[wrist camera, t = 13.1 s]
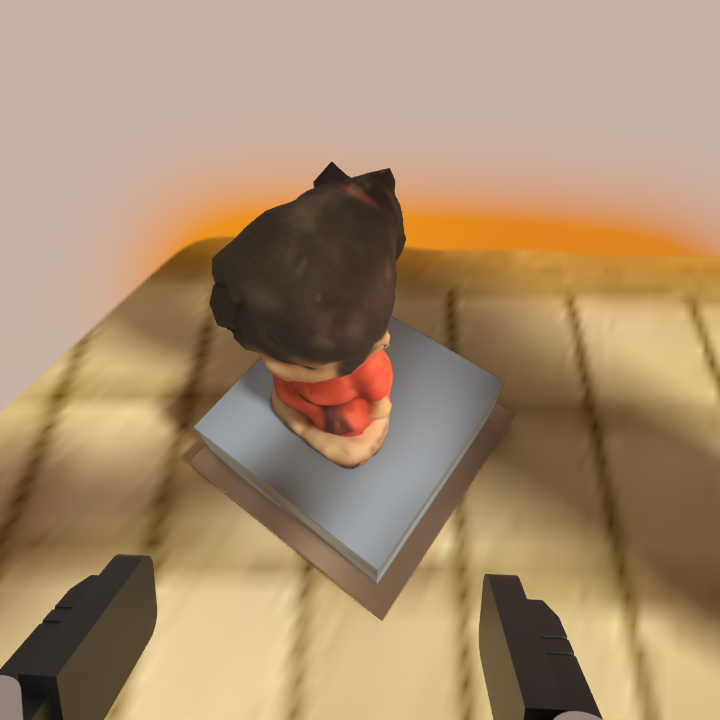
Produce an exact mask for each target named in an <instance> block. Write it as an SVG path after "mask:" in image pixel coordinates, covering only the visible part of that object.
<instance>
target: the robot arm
mask: <svg viewBox="0 0 720 720" xmlns="http://www.w3.org/2000/svg"><path fill="white" fill-rule="evenodd" d="M156 619H157V602H156V591H155V580H154V569H153V561H152V559H151V557H150V556H144V555H124V554H118V555H116V556H115V557H114V558H113V559H112V560H111V561H110V562H109V564H108V565H107V566H106V567H105V569H104V570H103V571H102V572H101V573H100V575H99V576H98V575H91V576H89V577H88V578H86V579H85V580H83V581H82V582H80V583H79V584H77V585H76V586H74V587H73V588H71V589H70V590H69V591H68V592H67V593H66V594H65V596H64V597H63V598H62V599H61V600H60V601H59V602H58V604H57V605H56V606H55V609H54V610H51V612H50V613H49V614H48V615H47V616H46V617H45V618H44V620H43V623H42V624H39V625H38V627H37V628H36V629H35V630H34V631H33V632H32V633H31V635H30V636H29V637H28V638H27V639H26V640H25V641H24V643H23V644H22V645H21V646H20V647H19V648H18V649H17V651H16V652H15V653H14V654H13V655H12V656H11V658H10V659H9V660H8V661H7V662H6V663H5V664H4V666H3V667H2V668H1V669H0V720H104V719H105V717H106V715H107V714H108V712H109V710H110V708H111V707H112V705H113V703H114V701H115V700H116V698H117V696H118V694H119V693H120V691H121V689H122V687H123V686H124V684H125V682H126V680H127V679H128V677H129V675H130V674H131V672H132V670H133V668H134V667H135V665H136V663H137V661H138V660H139V658H140V656H141V654H142V653H143V651H144V649H145V647H146V646H147V644H148V642H149V640H150V638H151V636H152V634H153V631H154V628H155V624H156ZM479 649H480V657H481V662H482V667H483V672H484V677H485V681H486V686H487V691H488V696H489V700H490V705H491V710H492V715H493V719H494V720H603V718H602V716H601V714H600V712H599V709H598V707H597V705H596V702H595V700H594V698H593V695H592V693H591V691H590V689H589V686H588V684H587V682H586V679H585V677H584V675H583V672H582V670H581V668H580V665H579V663H578V661H577V658H576V656H574V651H573V649H572V647H571V644H570V642H569V640H567V635H566V633H565V631H564V628H563V626H562V624H561V621H560V619H559V617H558V616H557V615H556V614H555V613H554V612H553V611H552V610H551V609H550V608H549V607H548V606H547V604H546V603H545V602H544V601H543V600H529V599H527V598H526V595H525V592H524V590H523V587H522V584H521V582H520V579H519V577H518V576H515V575H496V574H485V576H484V581H483V591H482V602H481V613H480V623H479Z"/></svg>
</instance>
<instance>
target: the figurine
mask: <svg viewBox="0 0 720 720" xmlns="http://www.w3.org/2000/svg"><path fill="white" fill-rule="evenodd" d="M394 190H395V179H394V177H393V174H392V172H391V170H390V168H388V169H383V170H380V171H375V172H371V173H366V174H363V175H360V176H357V177H353V178H350V177H349V176H347V175H346V174H345V173H344V172H342V171H341V170H340V169H339V168H338V167H337V166H336V165H335V164H334V163H333V162H331V163H330V164H329V165H328V166H327V167H326V168H325V170H324V171H323V172H322V173H321V174H320V175H319V176H318V178H317V179H316V180H315V181H314V188H313V189H311V190H308V191H306V192H305V193H303V194H302V195H300V196H299V197H298V198H297V199H296V200H294V201H292V202H290V203H287V204H284V205H280V206H277V207H275V208H272V209H269V210H267V211H265V212H264V213H262V214H261V215H260V216H259V217H257V218H256V219H255V220H254V221H252V222H251V223H250V224H249V225H248V226H247V227H246V228H245V229H243V231H242V232H241V233H240V234H239V235H238V236H237V237H236V238H235V239H234V240H233V241H232V242H231V243H229V244H228V245H227V246H226V247H225V248H223V249H222V250H221V251H220V252H219V253H218V254H217V255H215V256H214V257H213V258H212V274H213V277H214V280H215V285H214V286H213V290H212V295H211V299H210V306H211V309H212V312H213V314H214V317H215V320H216V322H217V325H219V326H221V327H225V328H227V329H228V330H231V331H232V333H233V334H234V339H235V340H236V341H237V342H238V343H239V344H240V345H241V346H242V347H243V348H244V349H246V350H250V351H254V352H258V353H259V355H260V357H261V359H262V362H263V363H264V365H265V367H266V369H267V371H268V372H270V373H272V376H273V381H274V385H273V389H272V394H271V397H270V402H271V405H272V408H273V410H274V412H275V413H276V414H277V416H278V417H279V418H280V419H281V420H282V421H283V422H284V423H285V424H286V425H287V426H288V427H289V428H290V429H291V430H292V431H294V432H295V433H296V434H297V435H298V436H299V437H300V438H301V439H302V440H304V441H305V442H306V443H307V444H308V445H310V446H311V447H312V448H313V449H315V450H316V451H317V452H319V453H320V454H321V455H323V456H324V457H325V458H327V459H328V460H330V461H331V462H333V463H335V464H336V465H338V466H340V467H343V468H345V469H355V468H357V467H360V466H362V465H364V464H366V463H367V462H368V460H369V459H370V458H371V456H373V455H375V454H377V453H378V451H379V450H381V449H382V446H383V444H384V441H385V438H386V435H387V431H388V427H389V420H390V410H391V407H392V403H391V402H390V390H391V386H392V380H393V371H392V366H391V362H390V359H389V357H388V355H387V354H386V352H385V351H384V350H383V349H384V348H387V347H388V346H389V340H390V335H389V333H388V323H389V320H390V317H391V313H392V310H393V306H394V301H395V284H396V261H397V259H398V258H399V256H400V255H401V253H402V251H403V248H404V244H405V241H406V237H405V234H404V227H403V217H402V211H401V207H400V204H399V202H398V200H397V198H396V196H395V191H394Z"/></svg>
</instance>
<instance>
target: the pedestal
mask: <svg viewBox="0 0 720 720" xmlns="http://www.w3.org/2000/svg"><path fill="white" fill-rule="evenodd" d="M388 333H389V335H390V340H389V346H388V347H387V348H384V349H383V350H384V351H385V352H386V354H387V355H388V357H389V359H390V362H391V366H392V371H393V380H392V386H391V390H390V402H391V403H392V407H391V410H390V420H389V427H388V431H387V435H386V438H385V441H384V444H383V446H382V449H381V450H379V451H378V453H377V454H375V455H373V456H371V458H370V459H369V460H368V462H367V463H366V464H364V465H362V466H360V467H357V468H355V469H345V468H343V467H340V466H338V465H336V464H335V463H333V462H331V461H330V460H328V459H327V458H325V457H324V456H323V455H321V454H320V453H319V452H317V451H316V450H315V449H313V448H312V447H311V446H310V445H308V444H307V443H306V442H305V441H304V440H302V439H301V438H300V437H299V436H298V435H297V434H296V433H295V432H294V431H292V430H291V429H290V428H289V427H288V426H287V425H286V424H285V423H284V422H283V421H282V420H281V419H280V418H279V417H278V416H277V414H276V413H275V412H274V410H273V408H272V405H271V402H270V397H271V394H272V389H273V385H274V381H273V376H272V373H270V372H268V371H267V369H266V367H265V365H264V363H263V362H262V359H261V357H260V358H259V359H258V360H257V362H256V363H255V364H254V365H253V366H252V367H251V368H250V369H249V370H248V371H247V372H246V373H245V374H244V375H243V376H242V377H241V378H240V379H239V380H238V381H237V382H236V383H235V384H234V385H233V387H232V388H231V389H230V390H229V391H228V392H227V393H226V394H225V395H224V396H223V397H222V398H221V399H220V400H219V401H218V402H217V403H216V404H215V405H214V406H213V407H212V408H211V409H210V411H209V412H208V413H207V414H206V415H205V416H204V417H203V418H202V419H201V420H200V421H199V422H198V423H197V424H196V425H195V426H194V428H195V430H196V431H197V432H198V434H199V435H200V436H201V438H202V439H203V440H204V441H205V443H206V445H205V446H204V447H203V448H202V449H201V450H200V451H199V452H198V453H197V454H196V456H195V457H194V458H193V459H192V460H191V461H190V462H189V463H190V464H191V465H192V466H193V467H194V468H195V469H196V470H197V471H198V472H199V473H200V474H202V475H203V476H204V477H205V478H207V479H208V480H209V481H210V482H212V483H213V484H214V485H215V486H216V487H218V488H219V489H220V490H221V491H223V492H224V493H225V494H226V495H228V496H229V497H230V498H231V499H232V500H234V501H235V502H236V503H237V504H239V505H240V506H241V507H242V508H244V509H245V510H246V511H247V512H248V513H250V514H251V515H252V516H253V517H255V518H256V519H257V520H258V521H260V522H261V523H262V524H263V525H265V526H266V527H267V528H268V529H269V530H271V531H272V532H273V533H274V534H276V535H277V536H278V537H279V538H281V539H282V540H283V541H284V542H285V543H287V544H288V545H289V546H290V547H292V548H293V549H294V550H295V551H297V552H298V553H299V554H300V555H301V556H303V557H304V558H305V559H306V560H308V561H309V562H310V563H311V564H313V565H314V566H315V567H316V568H317V569H319V570H320V571H321V572H322V573H324V574H325V575H326V576H327V577H329V578H330V579H331V580H332V581H333V582H335V583H336V584H337V585H338V586H340V587H341V588H342V589H343V590H345V591H346V592H347V593H348V594H349V595H351V596H352V597H353V598H354V599H356V600H357V601H358V602H359V603H361V604H362V605H363V606H364V607H365V608H367V609H368V610H369V611H370V612H372V613H373V614H374V615H375V616H377V617H378V618H379V619H380V620H382V621H383V619H384V617H385V616H386V614H387V613H388V611H389V610H390V608H391V607H392V605H393V604H394V602H395V600H396V599H397V597H398V596H399V594H400V593H401V591H402V590H403V588H404V587H405V585H406V583H407V582H408V580H409V579H410V577H411V576H412V574H413V573H414V571H415V570H416V568H417V566H418V565H419V563H420V562H421V560H422V559H423V557H424V556H425V554H426V553H427V551H428V549H429V548H430V546H431V545H432V543H433V542H434V540H435V539H436V537H437V536H438V534H439V532H440V531H441V529H442V528H443V526H444V525H445V523H446V522H447V520H448V519H449V517H450V516H451V514H452V512H453V511H454V509H455V508H456V506H457V505H458V503H459V502H460V500H461V499H462V497H463V495H464V494H465V492H466V491H467V489H468V488H469V486H470V485H471V483H472V482H473V480H474V478H475V477H476V475H477V474H478V472H479V471H480V469H481V468H482V466H483V465H484V463H485V461H486V460H487V458H488V457H489V455H490V454H491V452H492V451H493V449H494V448H495V446H496V444H497V443H498V441H499V440H500V438H501V437H502V435H503V434H504V432H505V431H506V429H507V427H508V426H509V424H510V423H511V421H512V419H513V417H514V416H515V413H513V412H511V411H510V410H508V409H506V408H505V407H503V406H501V405H500V404H498V403H496V401H497V399H498V397H499V395H500V392H501V390H502V388H503V386H504V383H505V382H504V381H503V380H501V379H499V378H498V377H496V376H494V375H492V374H491V373H489V372H487V371H485V370H484V369H482V368H480V367H479V366H477V365H475V364H473V363H472V362H470V361H468V360H467V359H465V358H463V357H461V356H460V355H458V354H456V353H454V352H453V351H451V350H449V349H448V348H446V347H444V346H442V345H441V344H439V343H437V342H436V341H434V340H432V339H430V338H429V337H427V336H425V335H424V334H422V333H420V332H418V331H417V330H415V329H413V328H411V327H410V326H408V325H406V324H405V323H403V322H401V321H399V320H398V319H396V318H394V317H393V316H391V317H390V320H389V323H388Z"/></svg>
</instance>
